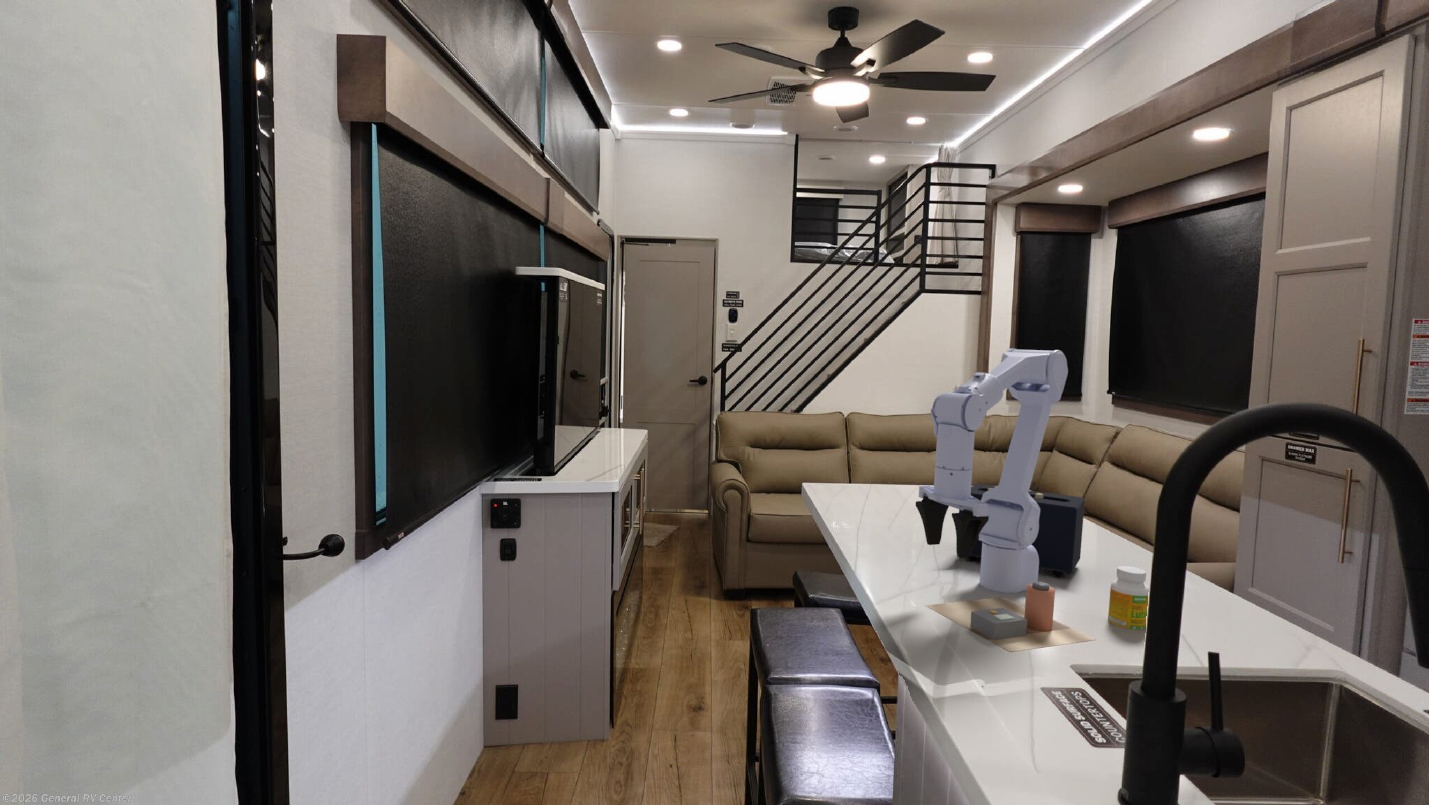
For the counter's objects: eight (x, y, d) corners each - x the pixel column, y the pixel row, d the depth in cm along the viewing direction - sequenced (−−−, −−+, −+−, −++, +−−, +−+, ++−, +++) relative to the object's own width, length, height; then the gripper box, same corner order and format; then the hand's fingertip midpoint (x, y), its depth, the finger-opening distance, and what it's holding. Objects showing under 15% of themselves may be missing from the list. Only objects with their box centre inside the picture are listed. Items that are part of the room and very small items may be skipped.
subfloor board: (1002, 603, 128) (1003, 597, 128) (1095, 647, 111) (1096, 639, 110) (924, 612, 122) (925, 605, 122) (1009, 660, 105) (1010, 651, 105)
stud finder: (1001, 623, 115) (1003, 606, 115) (1026, 636, 111) (1027, 618, 111) (970, 627, 113) (971, 610, 113) (993, 640, 109) (995, 622, 108)
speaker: (1079, 566, 153) (1085, 493, 152) (1071, 582, 142) (1077, 504, 141) (970, 547, 165) (975, 479, 163) (955, 560, 154) (960, 488, 153)
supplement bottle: (1131, 638, 115) (1137, 576, 114) (1099, 626, 119) (1104, 566, 119) (1153, 633, 117) (1159, 572, 116) (1121, 621, 122) (1126, 563, 121)
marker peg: (1038, 620, 117) (1041, 579, 117) (1058, 630, 114) (1061, 587, 113) (1017, 623, 116) (1021, 581, 116) (1037, 632, 112) (1040, 589, 112)
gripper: (905, 460, 126) (900, 540, 127) (963, 476, 112) (957, 565, 114) (940, 459, 128) (935, 537, 130) (1001, 475, 115) (994, 562, 116)
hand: (948, 550), depth 122 cm, fingers open, 7 cm apart
